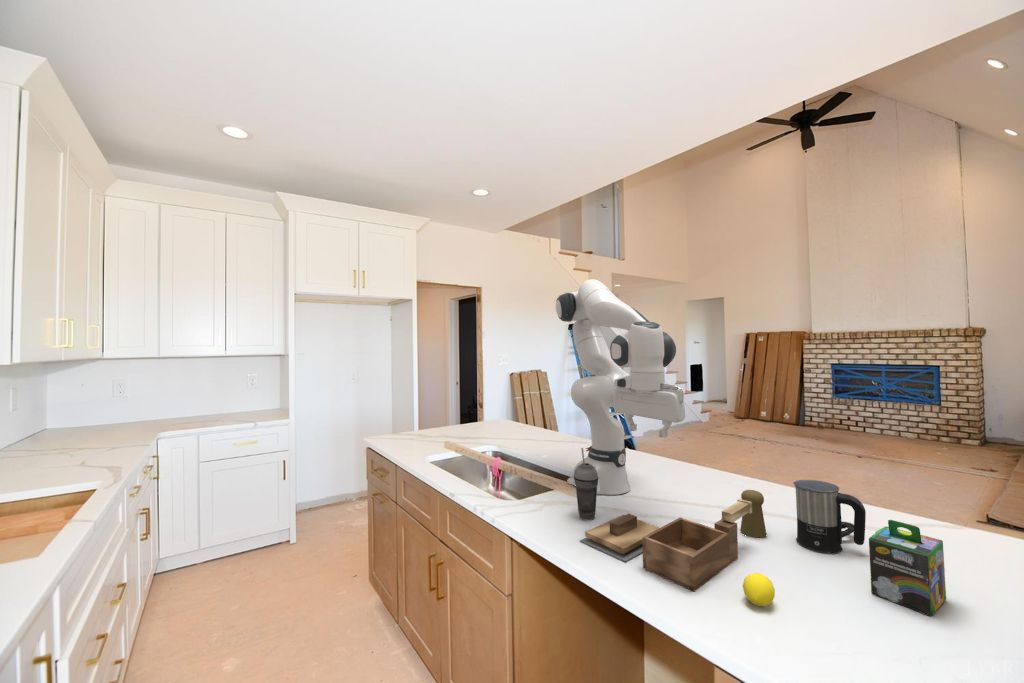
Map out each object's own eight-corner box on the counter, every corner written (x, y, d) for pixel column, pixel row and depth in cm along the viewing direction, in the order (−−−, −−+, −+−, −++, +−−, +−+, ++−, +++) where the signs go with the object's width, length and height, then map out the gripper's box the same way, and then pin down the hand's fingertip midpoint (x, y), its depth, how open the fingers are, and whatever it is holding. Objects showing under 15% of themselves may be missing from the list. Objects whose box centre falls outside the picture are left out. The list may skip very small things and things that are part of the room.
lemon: (772, 618, 79) (771, 591, 79) (740, 607, 83) (738, 581, 82) (778, 595, 85) (776, 570, 84) (747, 586, 88) (746, 561, 87)
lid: (585, 540, 110) (584, 520, 110) (623, 522, 120) (623, 504, 120) (624, 558, 101) (623, 536, 101) (662, 537, 111) (661, 517, 111)
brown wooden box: (643, 568, 97) (642, 531, 97) (689, 540, 109) (688, 508, 109) (694, 591, 87) (693, 551, 87) (737, 558, 100) (737, 523, 100)
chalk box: (947, 600, 82) (945, 523, 82) (932, 618, 77) (930, 536, 77) (885, 578, 90) (884, 508, 90) (868, 593, 85) (867, 519, 85)
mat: (580, 541, 110) (580, 540, 110) (623, 521, 121) (623, 520, 121) (625, 562, 99) (625, 561, 99) (668, 538, 111) (668, 537, 110)
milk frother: (800, 551, 103) (798, 489, 103) (785, 524, 117) (784, 470, 117) (874, 560, 97) (872, 495, 97) (848, 531, 112) (847, 474, 112)
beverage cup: (589, 524, 120) (587, 453, 120) (569, 516, 126) (567, 448, 126) (604, 517, 125) (603, 448, 125) (585, 510, 130) (583, 444, 130)
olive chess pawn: (770, 539, 109) (769, 496, 109) (744, 537, 110) (743, 494, 110) (761, 528, 115) (760, 487, 115) (737, 527, 116) (736, 486, 116)
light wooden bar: (720, 520, 101) (720, 509, 101) (739, 509, 108) (739, 498, 108) (733, 524, 99) (733, 513, 99) (752, 512, 105) (751, 502, 105)
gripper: (690, 384, 108) (690, 439, 109) (623, 378, 124) (624, 425, 125) (676, 387, 104) (676, 443, 105) (609, 380, 121) (610, 429, 121)
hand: (647, 433), depth 115 cm, fingers open, 8 cm apart
